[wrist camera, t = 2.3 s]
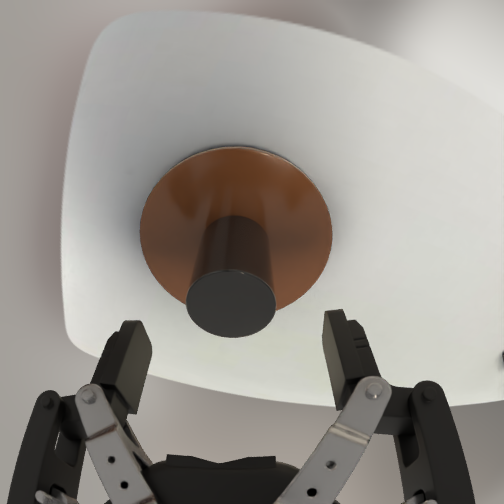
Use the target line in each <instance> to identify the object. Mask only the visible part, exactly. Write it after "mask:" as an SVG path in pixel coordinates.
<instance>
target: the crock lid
mask: <svg viewBox="0 0 504 504" xmlns="http://www.w3.org/2000/svg"><path fill="white" fill-rule="evenodd" d="M140 241H141V247H142V251H143V255H144V258H145V260H146V263H147V265H148V267H149V269H150V271H151V272H152V274H153V275H154V277H155V278H156V280H157V281H158V282H159V283H160V284H161V286H162V287H163V288H164V289H165V290H166V291H167V292H169V293H170V294H171V295H172V296H173V297H175V298H176V299H178V300H179V301H180V302H182V303H184V304H186V308H187V311H188V314H189V316H190V317H191V319H192V320H193V321H194V322H195V323H196V324H197V325H198V326H199V327H200V328H202V329H203V330H205V331H207V332H209V333H211V334H214V335H217V336H221V337H228V338H238V337H245V336H249V335H252V334H254V333H257V332H259V331H260V330H262V329H263V328H265V327H266V326H267V325H268V324H269V323H270V322H271V320H272V318H273V317H274V314H275V312H276V311H277V310H279V309H281V308H283V307H286V306H287V305H289V304H291V303H293V302H294V301H296V300H297V299H298V298H300V297H301V296H302V295H304V294H305V293H306V292H307V291H308V290H309V289H310V288H311V287H312V286H313V284H314V283H315V282H316V281H317V280H318V278H319V276H320V275H321V273H322V272H323V270H324V268H325V265H326V263H327V261H328V258H329V254H330V251H331V245H332V224H331V218H330V214H329V211H328V208H327V205H326V203H325V201H324V199H323V197H322V195H321V193H320V192H319V190H318V189H317V187H316V186H315V185H314V183H313V182H312V181H311V180H310V179H309V178H308V177H307V175H306V174H305V173H304V172H303V171H301V170H300V169H299V168H297V167H296V166H295V165H294V164H292V163H291V162H289V161H287V160H285V159H283V158H282V157H280V156H277V155H275V154H272V153H270V152H267V151H263V150H259V149H255V148H249V147H239V146H236V147H220V148H215V149H209V150H206V151H203V152H200V153H197V154H195V155H193V156H190V157H188V158H186V159H184V160H183V161H181V162H180V163H178V164H177V165H175V166H174V167H173V168H171V169H170V170H169V171H168V172H167V173H166V174H165V175H164V176H163V177H162V178H161V179H160V181H159V182H158V183H157V184H156V186H155V187H154V188H153V190H152V192H151V193H150V195H149V197H148V198H147V201H146V203H145V206H144V209H143V212H142V217H141V222H140Z"/></svg>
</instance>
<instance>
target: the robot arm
mask: <svg viewBox="0 0 504 504" xmlns="http://www.w3.org/2000/svg"><path fill="white" fill-rule="evenodd" d="M322 343H323V350H324V354H325V359H326V363H327V368H328V372H329V377H330V381H331V386H332V391H333V395H334V400H335V405H336V410H337V411H338V410H342V412H341V413H340V415H339V417H338V418H337V420H336V421H335V423H334V424H333V425H331V427H330V428H329V429H328V430H327V432H326V434H325V435H324V436H323V438H322V439H321V441H320V442H319V444H318V445H317V447H316V448H315V450H314V451H313V453H312V454H311V455H310V457H309V458H308V460H307V461H306V462H305V464H304V465H303V467H302V468H301V469H298V468H296V467H294V466H292V465H289V464H286V463H282V462H276V457H275V456H265V457H246V458H242V459H238V460H234V461H229V462H225V463H215V462H211V461H207V460H204V459H200V458H196V457H193V456H181V455H169V454H167V458H166V460H165V461H161V462H158V463H155V464H153V463H152V461H151V460H150V459H149V458H148V456H147V455H146V454H145V452H144V451H143V449H142V447H141V445H140V443H139V442H138V440H137V438H136V436H135V434H134V433H133V431H132V429H131V427H130V425H129V423H128V421H127V420H126V419H127V415H128V414H137V411H138V407H139V402H140V398H141V394H142V391H143V387H144V383H145V379H146V375H147V372H148V368H149V364H150V361H151V357H152V345H151V342H150V340H149V337H148V335H147V333H146V330H145V328H144V326H143V323H142V322H141V321H140V320H125V321H124V322H123V323H122V326H121V328H120V331H119V332H114V333H113V334H112V336H111V337H110V338H109V339H108V340H107V343H106V345H105V348H104V350H103V352H102V355H101V357H100V360H99V362H98V365H97V367H96V370H95V373H94V375H93V377H92V380H91V382H90V384H87V385H85V386H83V387H81V388H80V389H79V391H78V392H77V393H76V395H71V396H65V397H60V396H59V395H58V393H57V392H55V391H52V390H48V391H45V392H43V393H42V394H41V395H40V396H39V397H38V398H37V400H36V403H35V406H34V408H33V412H32V414H31V417H30V420H29V423H28V426H27V429H26V432H25V435H24V438H23V441H22V445H21V448H20V451H19V455H18V458H17V462H16V466H15V470H14V474H13V478H12V482H11V487H10V491H9V496H8V501H7V504H79V503H78V501H77V494H78V488H79V482H80V476H81V471H82V466H83V461H84V456H85V451H86V447H87V450H88V452H89V455H90V457H91V460H92V462H93V464H94V467H95V469H96V471H97V473H98V476H99V478H100V480H101V482H102V484H103V486H104V488H105V490H106V492H107V494H108V496H109V498H110V499H109V500H108V501H107V502H106V503H104V504H340V503H339V502H338V501H336V500H335V498H336V497H337V496H338V494H339V493H340V491H341V490H342V488H343V486H344V485H345V483H346V482H347V480H348V478H349V477H350V475H351V473H352V472H353V470H354V469H355V467H356V465H357V463H358V462H359V460H360V458H361V456H362V455H363V453H364V451H365V449H366V447H367V445H368V443H369V441H370V439H371V437H372V435H373V433H377V434H388V435H393V437H394V442H395V447H396V452H397V458H398V463H399V468H400V474H401V480H402V486H403V493H404V500H405V502H403V503H401V504H475V499H474V494H473V490H472V485H471V480H470V476H469V472H468V468H467V464H466V460H465V457H464V453H463V449H462V446H461V442H460V439H459V436H458V432H457V429H456V426H455V423H454V420H453V417H452V414H451V411H450V408H449V405H448V402H447V399H446V397H445V394H444V391H443V389H442V388H441V386H440V385H438V384H437V383H435V382H433V381H422V382H419V383H418V384H416V386H415V387H414V388H405V387H396V386H392V385H390V384H389V383H388V382H387V381H386V380H385V379H383V378H382V377H381V375H380V373H379V370H378V367H377V364H376V362H375V359H374V356H373V353H372V350H371V348H370V346H369V342H368V340H367V337H366V334H365V332H364V329H363V327H362V326H361V325H360V324H359V323H358V322H357V321H356V320H348V321H347V319H346V316H345V313H344V311H343V309H338V310H329V311H325V314H324V324H323V333H322ZM59 432H60V434H59ZM58 434H59V437H58ZM57 437H58V442H57V445H56V441H57ZM55 445H56V449H55Z"/></svg>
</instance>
